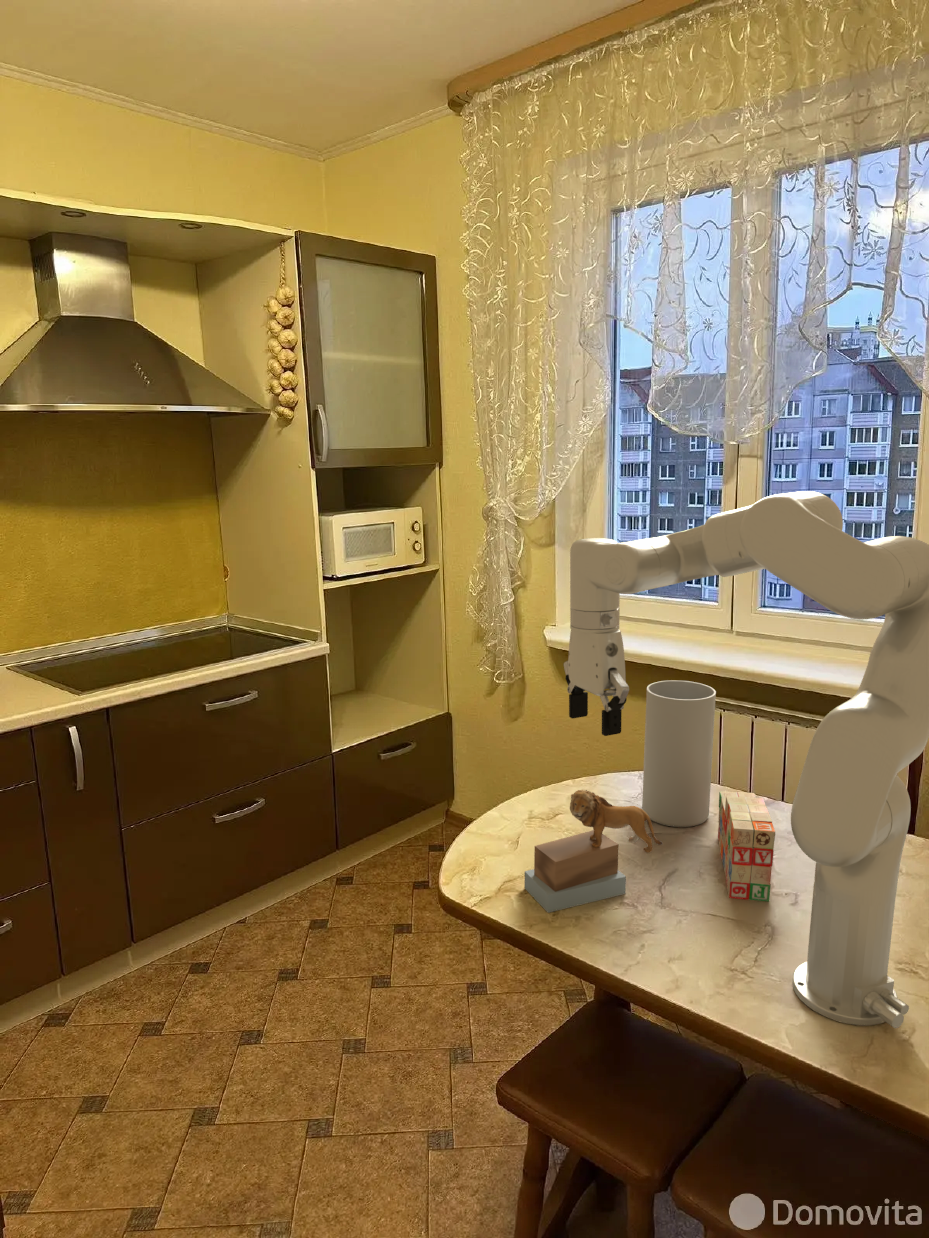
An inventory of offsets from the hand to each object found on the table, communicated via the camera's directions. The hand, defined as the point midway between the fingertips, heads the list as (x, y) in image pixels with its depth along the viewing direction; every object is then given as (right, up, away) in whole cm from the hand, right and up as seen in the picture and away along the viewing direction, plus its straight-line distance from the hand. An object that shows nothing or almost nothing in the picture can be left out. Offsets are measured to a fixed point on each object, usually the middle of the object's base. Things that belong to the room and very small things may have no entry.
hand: (594, 725), depth 137 cm
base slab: (-3, -27, +3) cm, 27 cm away
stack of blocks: (+26, -26, +10) cm, 38 cm away
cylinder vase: (+20, -21, +30) cm, 42 cm away
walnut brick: (-3, -24, +2) cm, 24 cm away
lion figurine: (+3, -19, +1) cm, 20 cm away
